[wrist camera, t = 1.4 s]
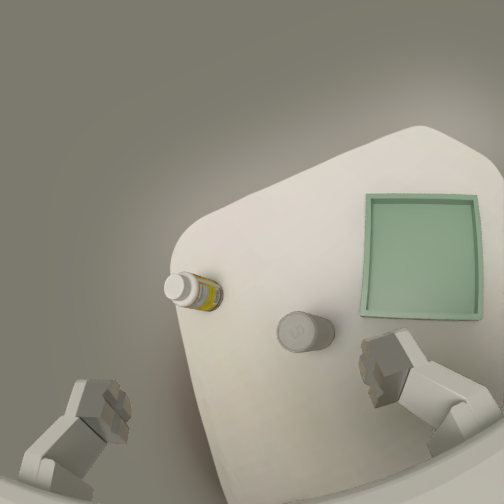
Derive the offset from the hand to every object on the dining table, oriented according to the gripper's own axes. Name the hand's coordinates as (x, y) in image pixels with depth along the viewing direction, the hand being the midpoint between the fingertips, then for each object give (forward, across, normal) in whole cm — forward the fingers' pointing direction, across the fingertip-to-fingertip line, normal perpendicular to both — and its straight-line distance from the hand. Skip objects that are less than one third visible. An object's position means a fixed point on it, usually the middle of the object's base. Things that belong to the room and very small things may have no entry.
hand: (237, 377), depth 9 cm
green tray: (+26, -26, +16) cm, 40 cm away
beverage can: (+25, -9, +26) cm, 37 cm away
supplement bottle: (+38, +7, +24) cm, 46 cm away
